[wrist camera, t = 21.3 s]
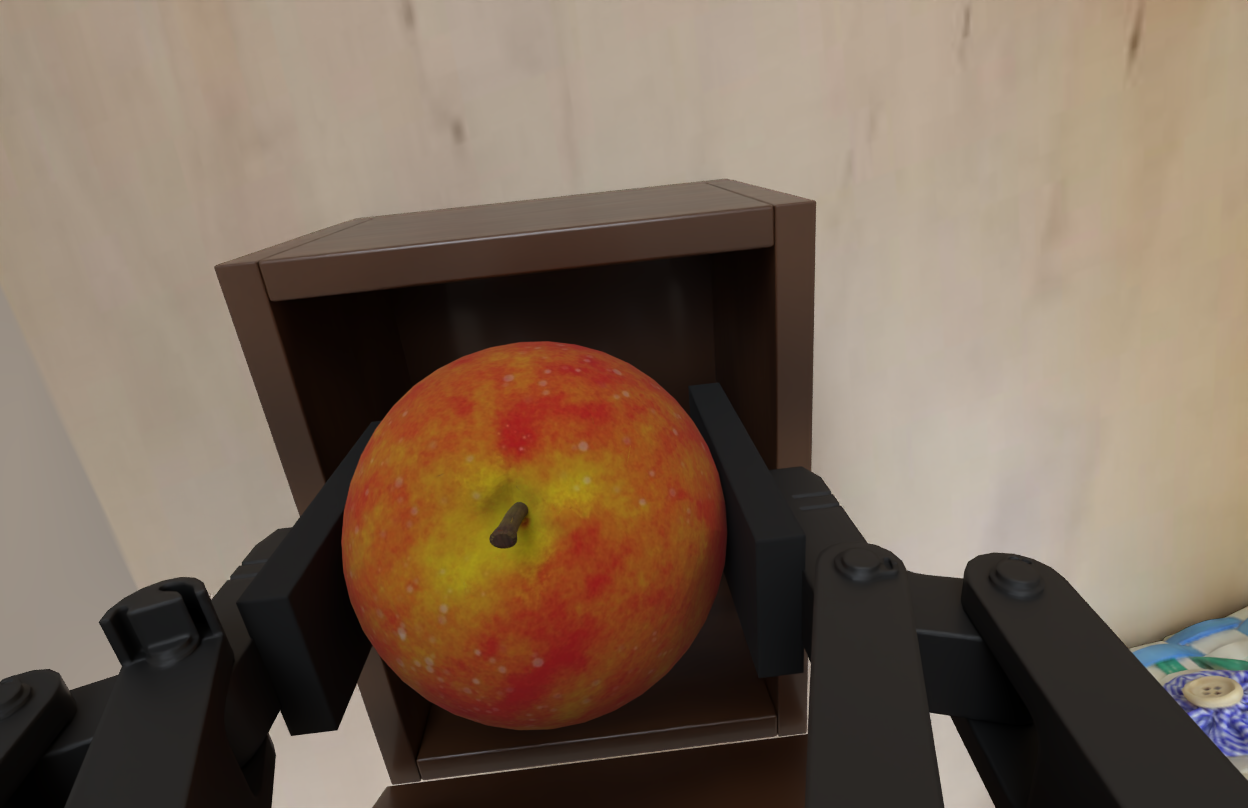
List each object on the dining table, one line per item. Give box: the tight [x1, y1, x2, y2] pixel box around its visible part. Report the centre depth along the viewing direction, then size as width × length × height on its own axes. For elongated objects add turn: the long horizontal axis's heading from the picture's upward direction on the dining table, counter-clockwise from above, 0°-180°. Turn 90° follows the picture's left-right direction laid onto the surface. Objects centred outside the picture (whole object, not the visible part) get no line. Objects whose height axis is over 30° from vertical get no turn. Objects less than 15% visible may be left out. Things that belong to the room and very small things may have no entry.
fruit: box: [341, 341, 728, 730], centre depth 12 cm, size 7×7×8 cm
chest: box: [214, 179, 816, 785], centre depth 21 cm, size 16×13×9 cm
